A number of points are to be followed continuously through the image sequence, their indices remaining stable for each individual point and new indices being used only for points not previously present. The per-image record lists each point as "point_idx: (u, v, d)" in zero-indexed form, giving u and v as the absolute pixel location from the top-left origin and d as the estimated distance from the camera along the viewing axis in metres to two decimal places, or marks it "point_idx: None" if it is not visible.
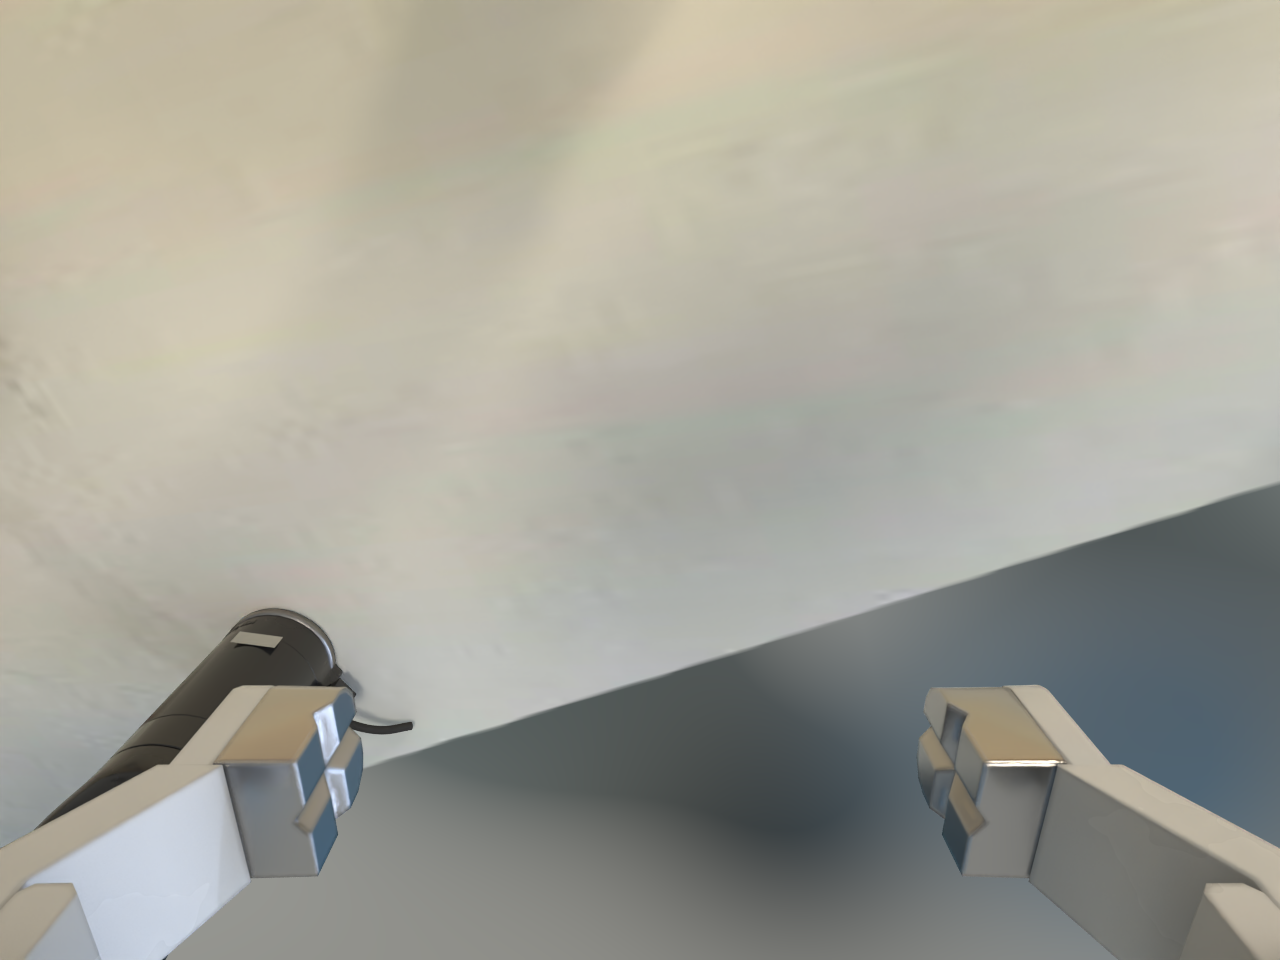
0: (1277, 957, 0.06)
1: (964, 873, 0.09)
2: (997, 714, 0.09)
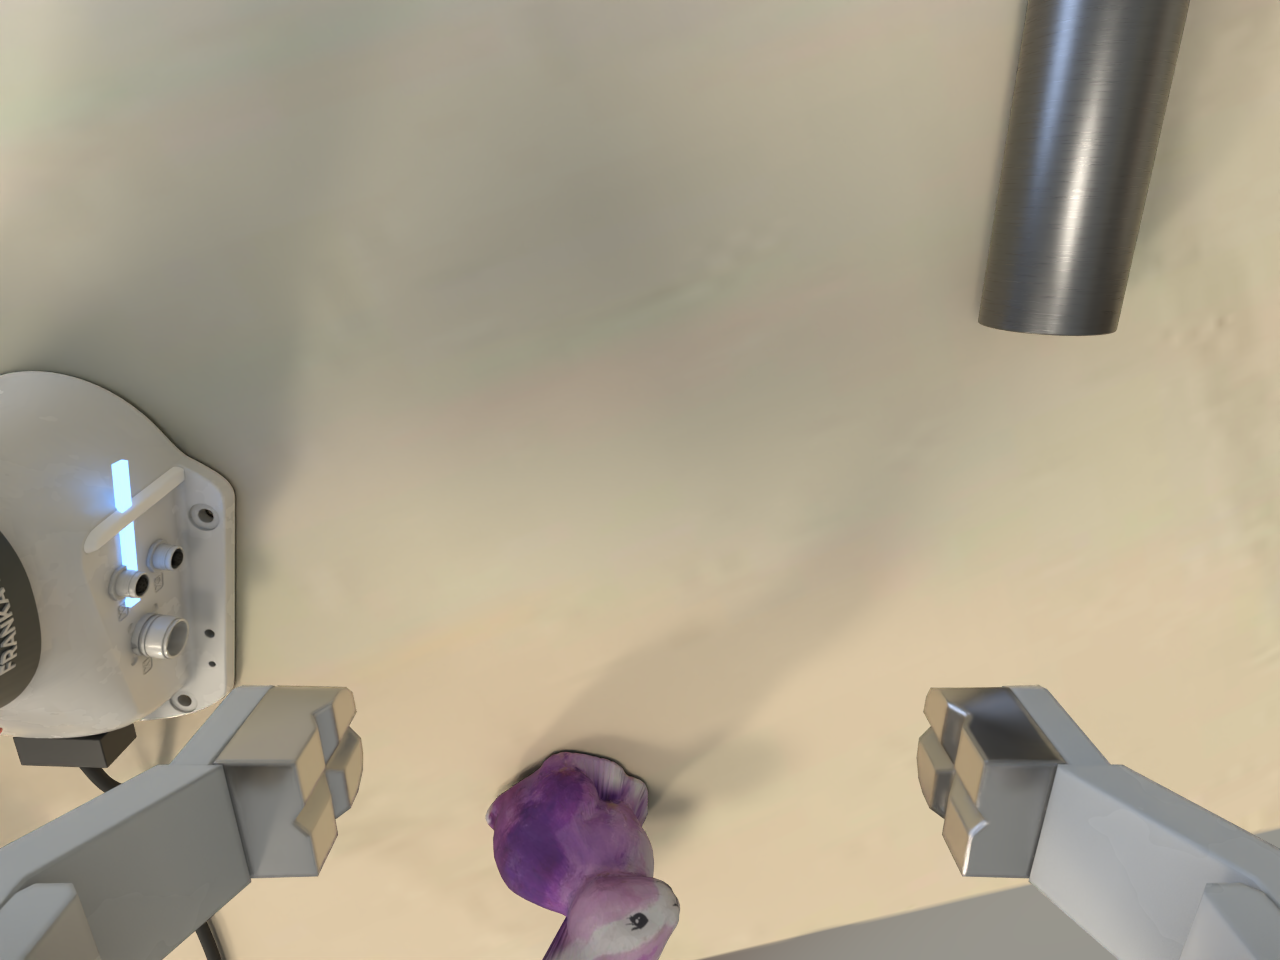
0: (1277, 956, 0.06)
1: (964, 872, 0.09)
2: (997, 714, 0.09)
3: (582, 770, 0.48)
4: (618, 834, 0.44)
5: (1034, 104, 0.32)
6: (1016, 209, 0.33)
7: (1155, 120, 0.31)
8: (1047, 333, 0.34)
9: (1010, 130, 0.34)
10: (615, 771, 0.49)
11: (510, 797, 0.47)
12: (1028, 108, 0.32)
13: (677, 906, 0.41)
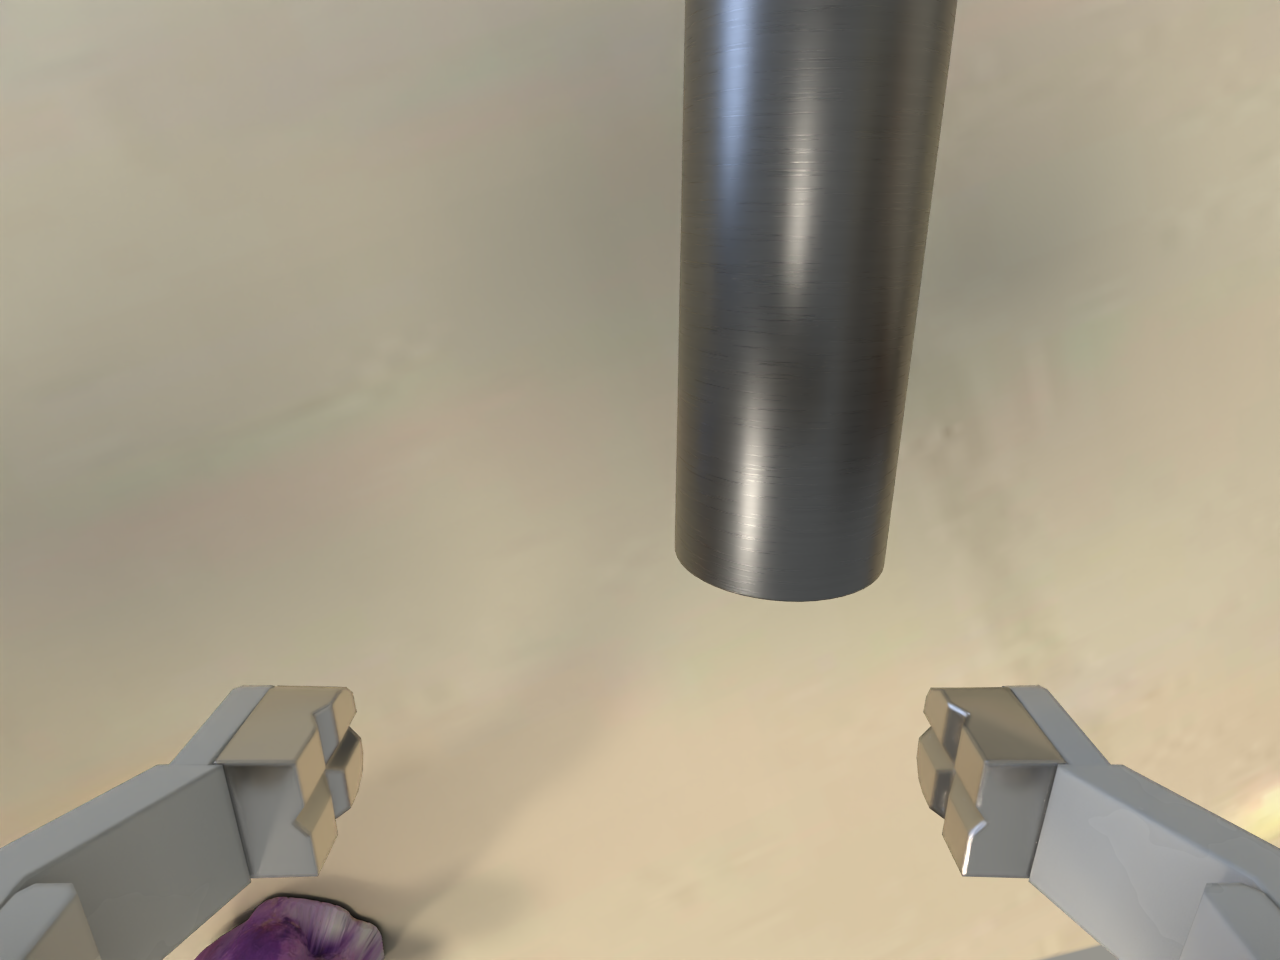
0: (1277, 957, 0.06)
1: (965, 872, 0.09)
2: (997, 714, 0.09)
3: (294, 920, 0.43)
4: None
5: (694, 202, 0.17)
6: (689, 380, 0.19)
7: (900, 239, 0.16)
8: (750, 595, 0.19)
9: None
10: (336, 918, 0.43)
11: (205, 957, 0.41)
12: (689, 208, 0.18)
13: None
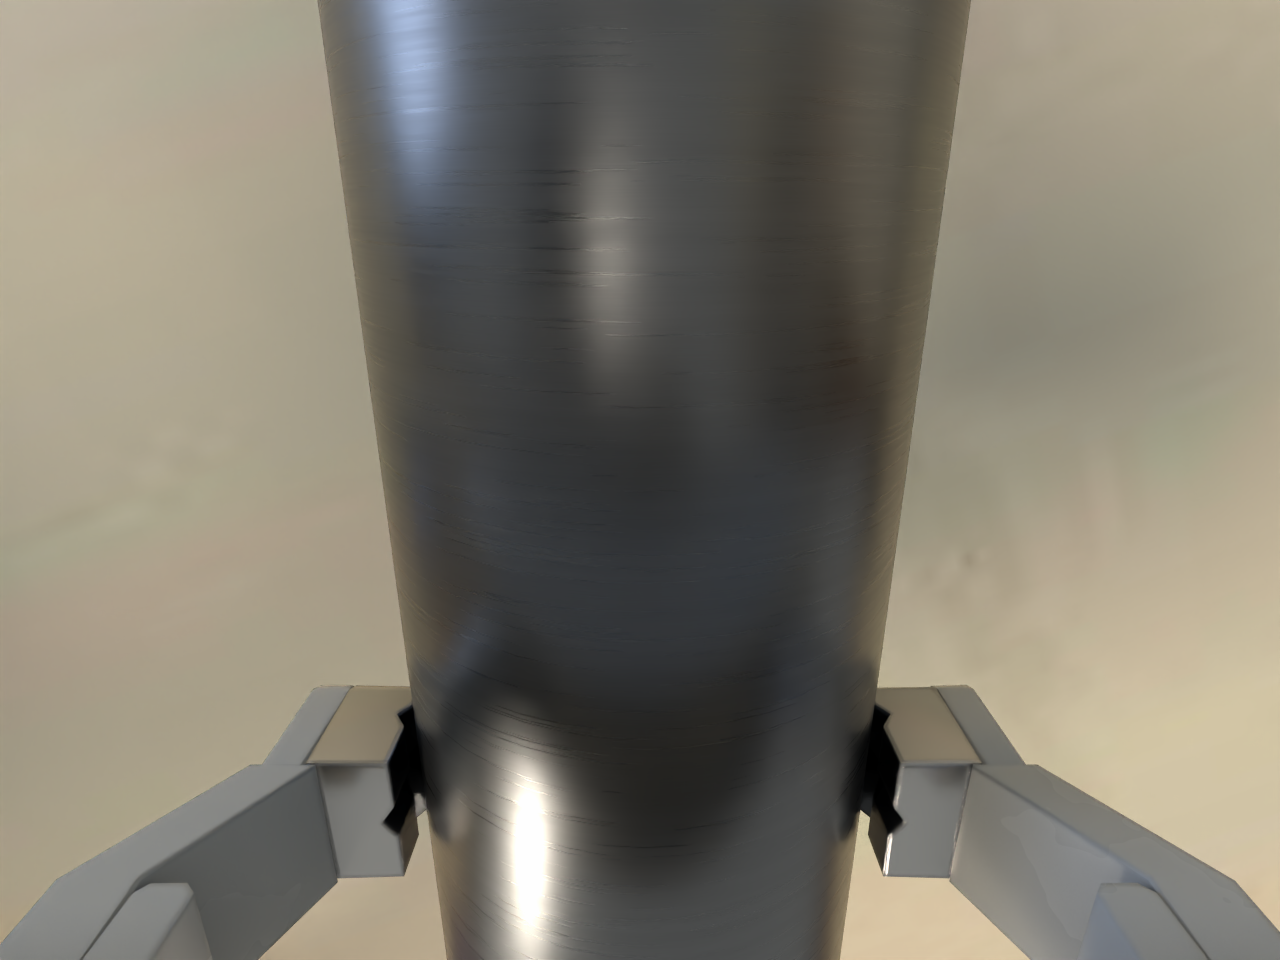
0: (1160, 957, 0.06)
1: (887, 874, 0.09)
2: (920, 714, 0.09)
3: None
4: None
5: None
6: (409, 676, 0.09)
7: (838, 437, 0.06)
8: None
9: None
10: None
11: None
12: None
13: None
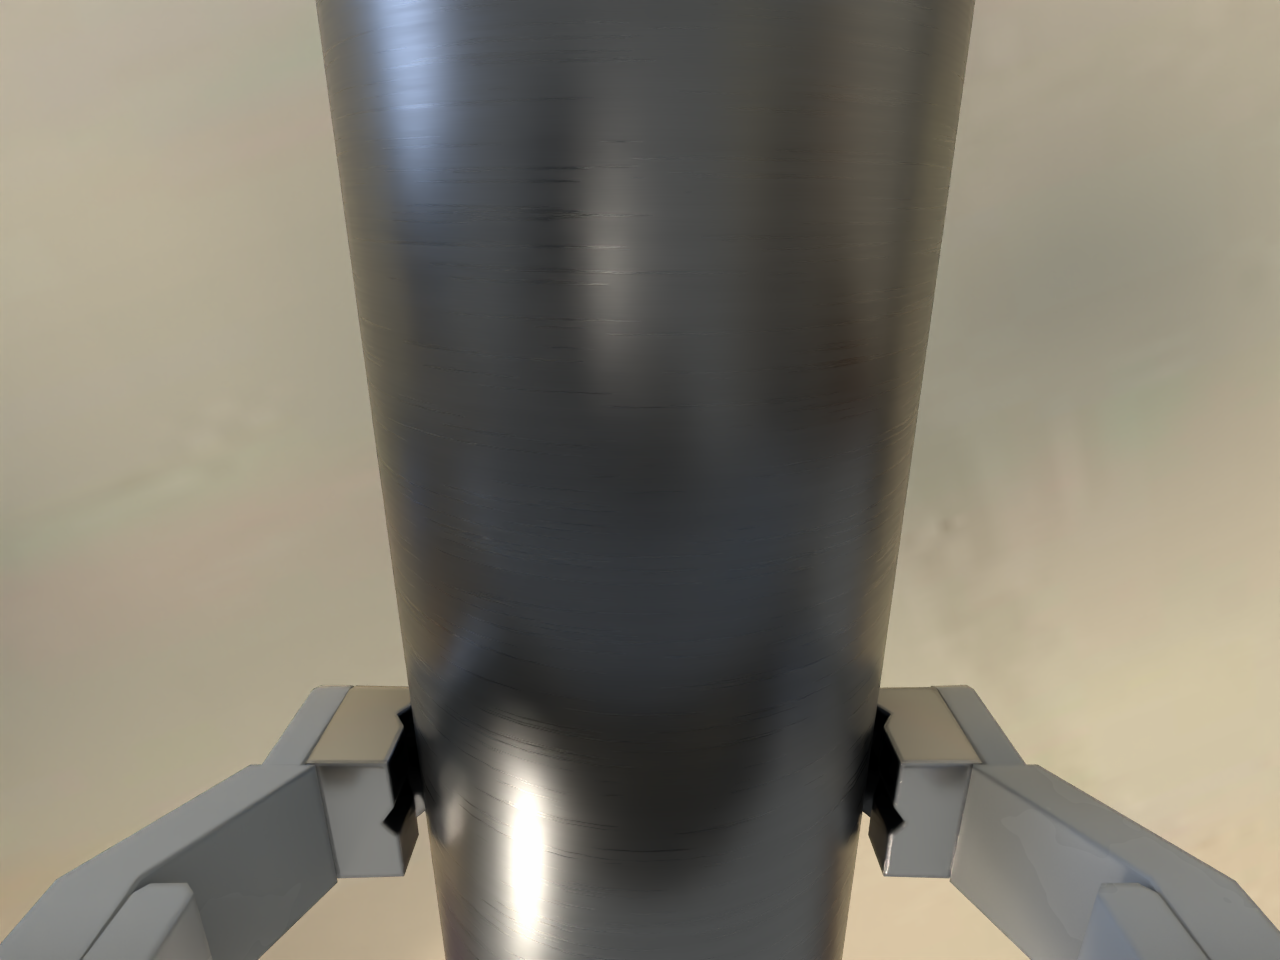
0: (1161, 957, 0.06)
1: (887, 874, 0.09)
2: (920, 714, 0.09)
3: None
4: None
5: (359, 319, 0.07)
6: (408, 677, 0.09)
7: (841, 437, 0.06)
8: None
9: None
10: None
11: None
12: None
13: None
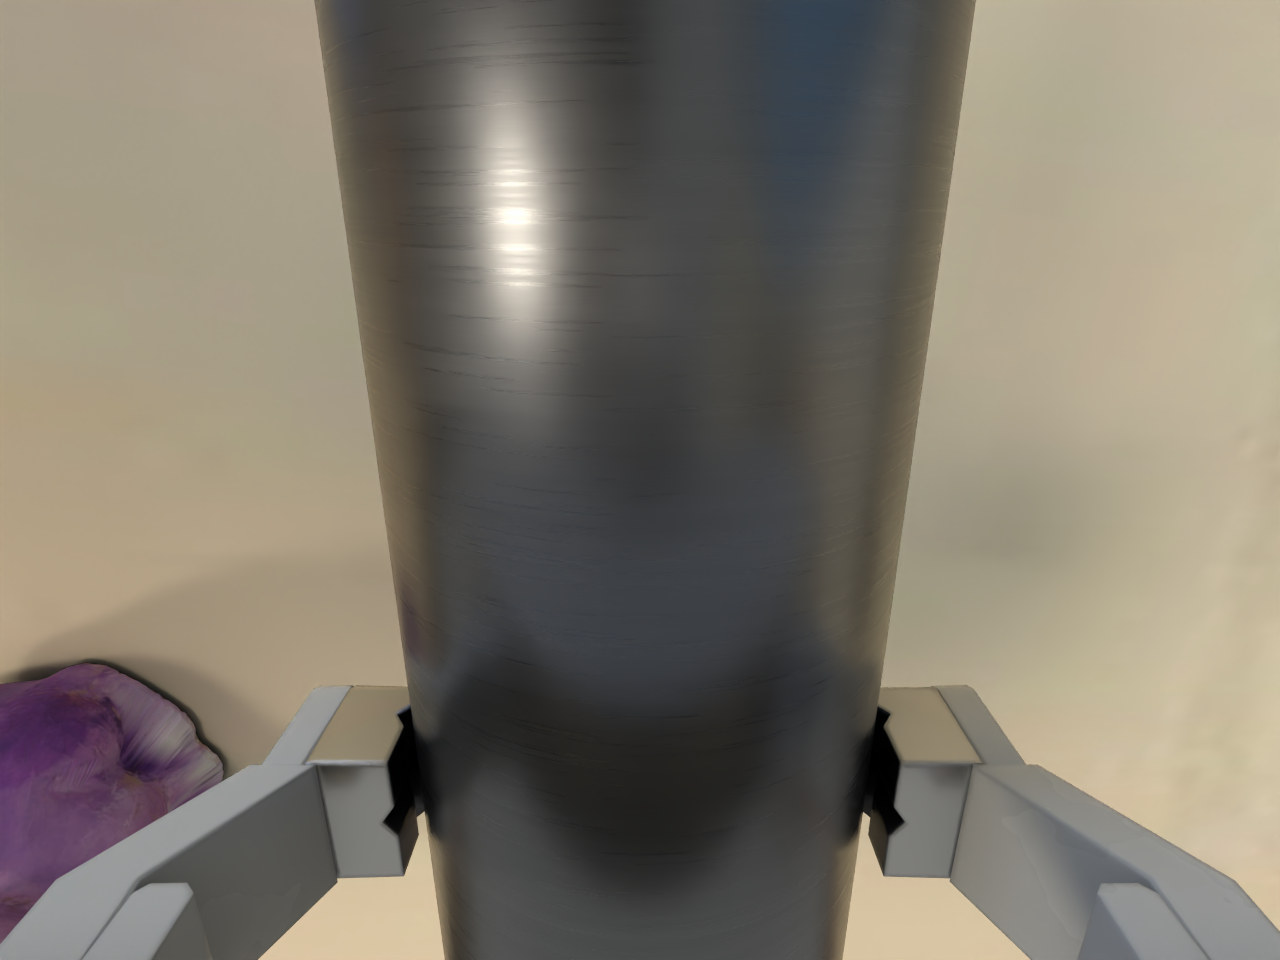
0: (1161, 957, 0.06)
1: (886, 873, 0.09)
2: (920, 714, 0.09)
3: (117, 706, 0.28)
4: (102, 835, 0.25)
5: (358, 321, 0.07)
6: (407, 680, 0.09)
7: (841, 440, 0.06)
8: None
9: None
10: (176, 728, 0.29)
11: None
12: None
13: None
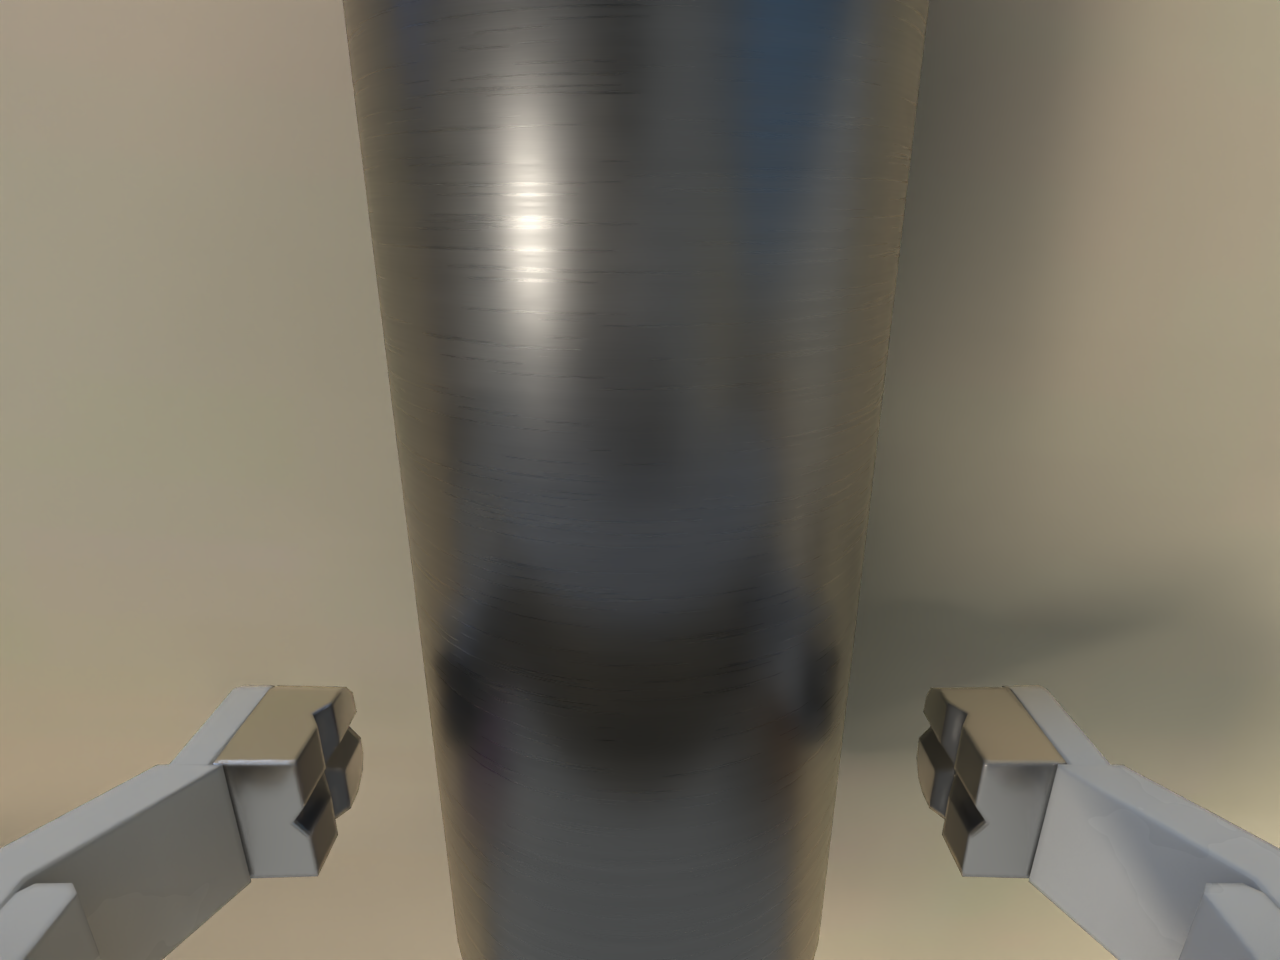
0: (1277, 957, 0.06)
1: (965, 874, 0.09)
2: (997, 714, 0.09)
3: None
4: None
5: (381, 316, 0.08)
6: None
7: (807, 418, 0.07)
8: None
9: None
10: None
11: None
12: None
13: None
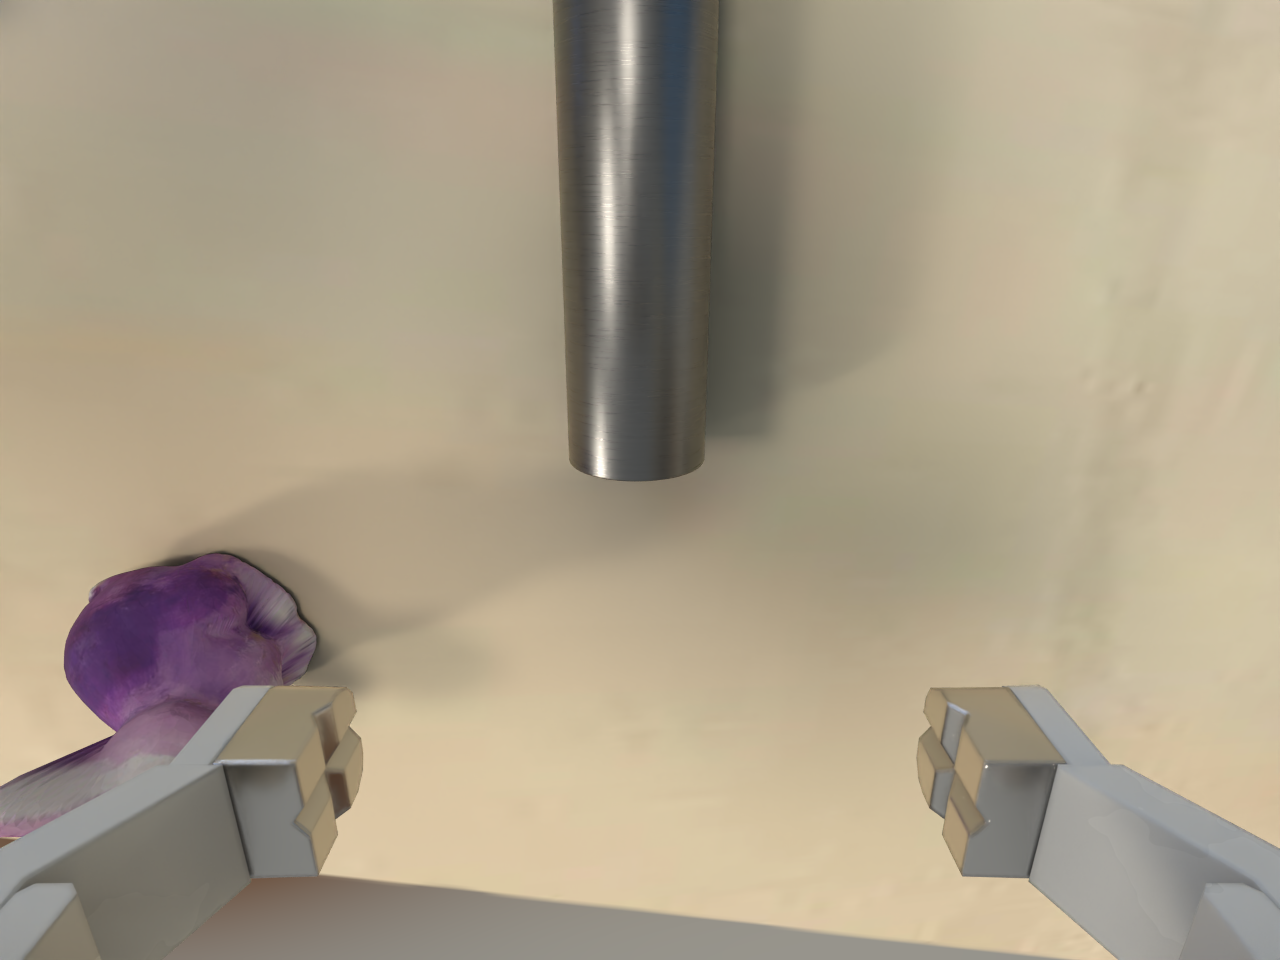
0: (1277, 957, 0.06)
1: (964, 872, 0.09)
2: (997, 714, 0.09)
3: (242, 584, 0.37)
4: (243, 667, 0.34)
5: (563, 233, 0.29)
6: (567, 342, 0.30)
7: (680, 256, 0.28)
8: (605, 477, 0.31)
9: None
10: (284, 604, 0.38)
11: (130, 575, 0.35)
12: (562, 235, 0.29)
13: None
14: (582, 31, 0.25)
